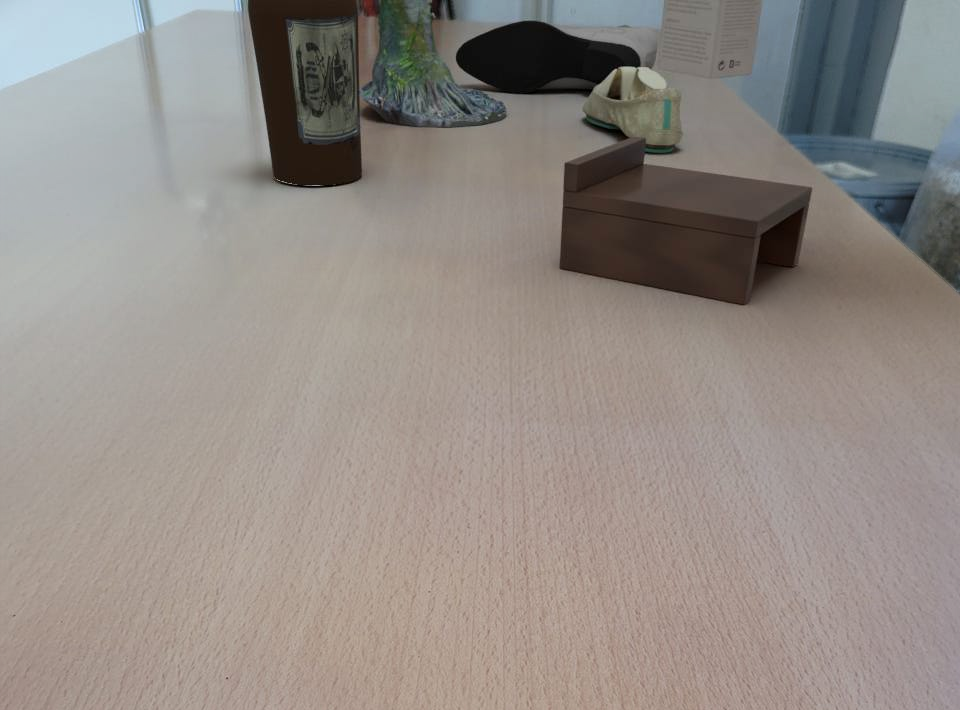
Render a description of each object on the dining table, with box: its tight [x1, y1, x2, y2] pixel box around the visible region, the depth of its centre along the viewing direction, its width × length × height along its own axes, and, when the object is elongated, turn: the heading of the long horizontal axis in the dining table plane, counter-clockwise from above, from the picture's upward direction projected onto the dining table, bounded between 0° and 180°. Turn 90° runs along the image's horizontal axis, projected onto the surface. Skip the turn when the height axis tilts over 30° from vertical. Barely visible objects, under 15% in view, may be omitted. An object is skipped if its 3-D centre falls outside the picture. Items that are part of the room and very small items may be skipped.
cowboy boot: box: [455, 19, 659, 95], centre depth 154 cm, size 10×28×25 cm
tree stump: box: [359, 0, 507, 128], centre depth 132 cm, size 18×20×18 cm
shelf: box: [559, 136, 813, 305], centre depth 80 cm, size 16×12×8 cm
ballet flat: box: [581, 67, 684, 154], centre depth 123 cm, size 8×25×8 cm, turn 15°
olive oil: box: [247, 0, 363, 186], centre depth 99 cm, size 11×11×25 cm
